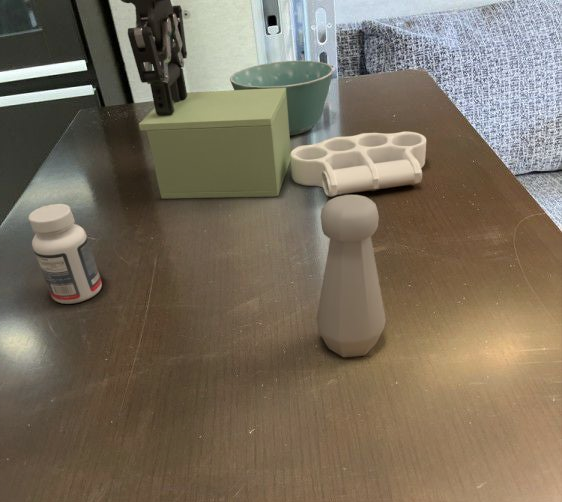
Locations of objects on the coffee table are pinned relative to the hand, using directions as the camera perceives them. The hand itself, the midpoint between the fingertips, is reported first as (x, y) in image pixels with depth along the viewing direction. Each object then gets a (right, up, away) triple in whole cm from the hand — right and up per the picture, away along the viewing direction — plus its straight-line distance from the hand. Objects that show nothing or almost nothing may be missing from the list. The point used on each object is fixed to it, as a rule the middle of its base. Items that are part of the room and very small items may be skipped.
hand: (172, 106), depth 80 cm
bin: (+7, -8, +5) cm, 11 cm away
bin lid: (+6, -1, 0) cm, 6 cm away
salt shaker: (+20, -32, -26) cm, 46 cm away
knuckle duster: (+25, -8, +2) cm, 26 cm away
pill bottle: (-7, -26, -15) cm, 31 cm away
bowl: (+15, +5, +20) cm, 25 cm away
